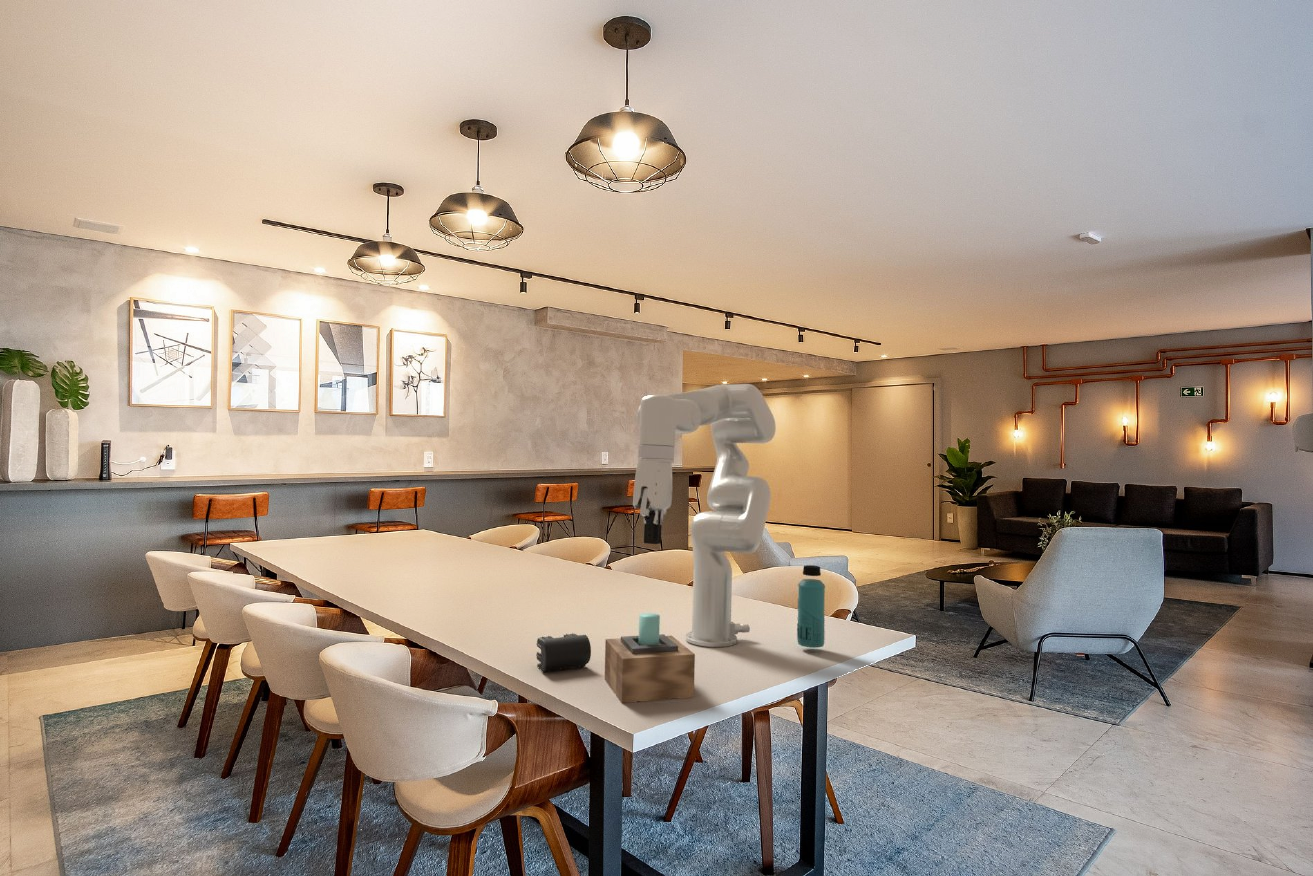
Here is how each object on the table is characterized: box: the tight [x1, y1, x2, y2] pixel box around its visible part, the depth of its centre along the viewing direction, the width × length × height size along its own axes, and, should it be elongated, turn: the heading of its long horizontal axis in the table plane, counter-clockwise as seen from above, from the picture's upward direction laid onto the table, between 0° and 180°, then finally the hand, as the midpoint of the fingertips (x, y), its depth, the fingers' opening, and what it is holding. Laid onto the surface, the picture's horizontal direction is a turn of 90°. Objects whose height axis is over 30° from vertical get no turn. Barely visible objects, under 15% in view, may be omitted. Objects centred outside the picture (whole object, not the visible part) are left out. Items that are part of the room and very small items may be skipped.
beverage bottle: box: [796, 564, 826, 649], centre depth 167 cm, size 6×7×20 cm
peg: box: [638, 612, 661, 646], centre depth 138 cm, size 4×4×9 cm
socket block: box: [604, 633, 696, 704], centre depth 137 cm, size 14×14×9 cm
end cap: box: [535, 632, 592, 673], centre depth 149 cm, size 10×7×7 cm
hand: (652, 543), depth 146 cm, fingers closed
